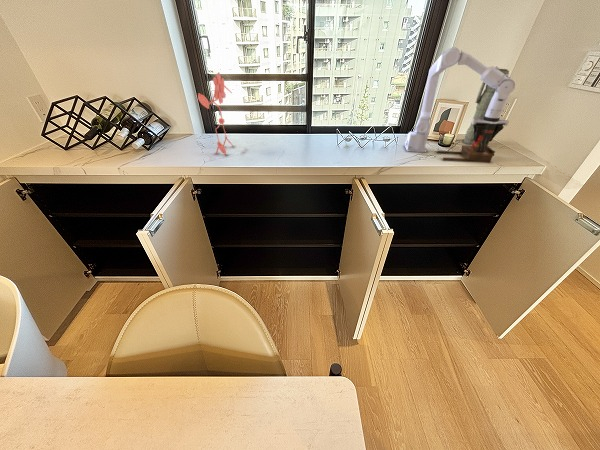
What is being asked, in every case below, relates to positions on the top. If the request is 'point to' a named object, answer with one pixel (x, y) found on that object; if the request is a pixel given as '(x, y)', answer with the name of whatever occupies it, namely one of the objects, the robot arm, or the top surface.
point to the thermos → (481, 107)
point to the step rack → (471, 154)
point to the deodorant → (485, 135)
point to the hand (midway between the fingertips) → (481, 140)
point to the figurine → (218, 95)
